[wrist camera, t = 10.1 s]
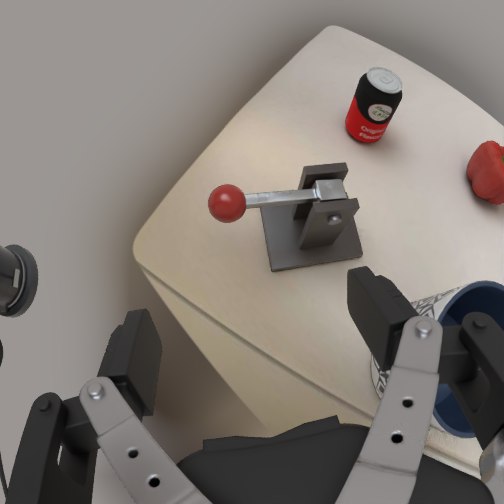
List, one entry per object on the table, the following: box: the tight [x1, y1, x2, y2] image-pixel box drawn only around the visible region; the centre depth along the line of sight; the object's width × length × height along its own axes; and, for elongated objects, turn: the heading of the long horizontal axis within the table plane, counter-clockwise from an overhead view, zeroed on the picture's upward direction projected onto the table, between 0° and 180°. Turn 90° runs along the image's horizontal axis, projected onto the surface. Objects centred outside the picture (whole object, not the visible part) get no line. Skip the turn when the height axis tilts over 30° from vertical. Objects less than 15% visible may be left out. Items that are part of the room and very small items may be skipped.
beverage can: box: [345, 67, 402, 143], centre depth 40 cm, size 6×6×12 cm
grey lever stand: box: [260, 163, 363, 272], centre depth 35 cm, size 12×9×13 cm
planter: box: [371, 280, 504, 438], centre depth 29 cm, size 16×16×14 cm
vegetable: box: [467, 141, 504, 205], centre depth 39 cm, size 11×10×10 cm
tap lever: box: [208, 179, 347, 223], centre depth 30 cm, size 13×4×4 cm, turn 99°
